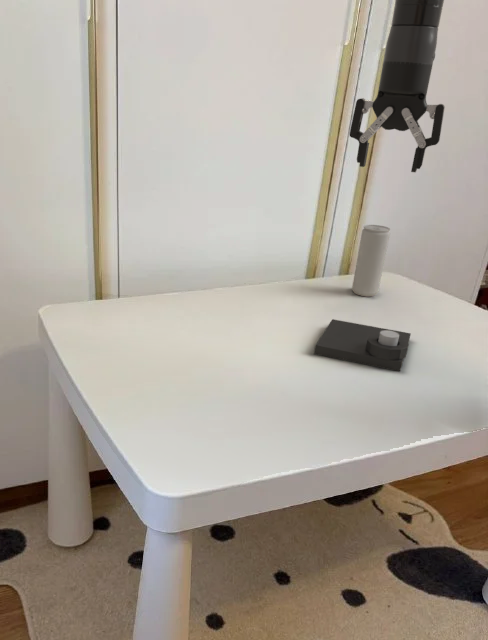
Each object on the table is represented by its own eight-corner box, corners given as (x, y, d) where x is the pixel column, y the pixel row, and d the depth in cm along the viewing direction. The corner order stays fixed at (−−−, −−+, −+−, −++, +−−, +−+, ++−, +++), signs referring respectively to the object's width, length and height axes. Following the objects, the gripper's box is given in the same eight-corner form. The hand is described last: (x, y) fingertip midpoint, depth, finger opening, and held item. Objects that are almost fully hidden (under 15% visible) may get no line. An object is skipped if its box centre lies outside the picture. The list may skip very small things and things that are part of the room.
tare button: (398, 342, 89) (400, 332, 88) (395, 349, 87) (398, 338, 86) (379, 339, 90) (381, 328, 89) (376, 345, 88) (378, 335, 87)
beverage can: (373, 289, 119) (386, 225, 114) (381, 297, 115) (394, 231, 109) (348, 288, 119) (359, 224, 114) (355, 296, 115) (367, 230, 109)
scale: (410, 342, 96) (414, 323, 95) (401, 372, 86) (406, 352, 85) (330, 327, 100) (333, 309, 99) (313, 354, 90) (316, 335, 89)
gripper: (358, 57, 99) (341, 167, 106) (455, 62, 94) (430, 176, 101) (366, 58, 105) (349, 162, 112) (457, 63, 100) (433, 171, 108)
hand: (387, 169), depth 107 cm, fingers open, 8 cm apart
